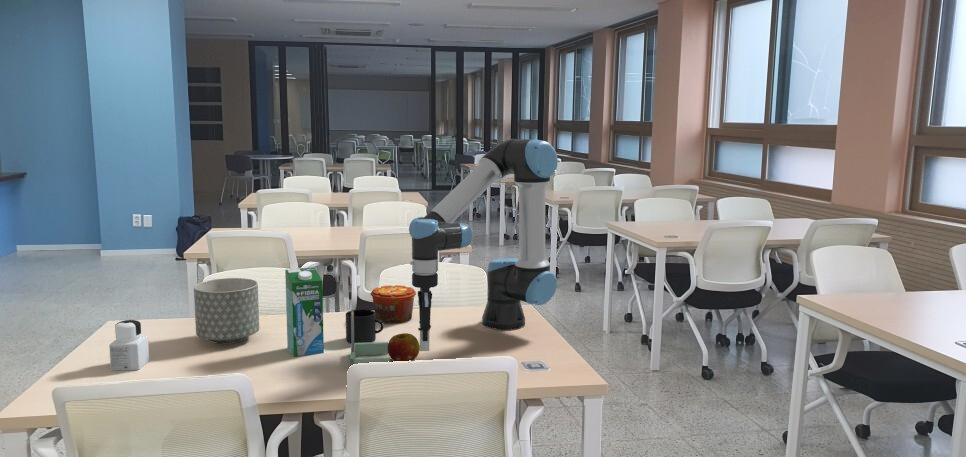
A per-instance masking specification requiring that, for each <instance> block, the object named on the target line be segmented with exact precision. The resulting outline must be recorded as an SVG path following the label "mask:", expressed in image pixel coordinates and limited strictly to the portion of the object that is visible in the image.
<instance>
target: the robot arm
mask: <svg viewBox="0 0 966 457" xmlns="http://www.w3.org/2000/svg"><path fill="white" fill-rule="evenodd" d="M558 162H559V161H558V154H557V152H556V150H555V147H553V146H552V144H550V142H548V141H545V140H541V139H530V138H529V139H526V138H523V139H521V138H509V139H506V140H503V141H502V142H500V143H497V145H495V146H494V147H493V148H490V150H489V151H487V152H486V153H485V154H484V155H483V156H482V157H481V158H480V159H479V160H478V165H477V166H476V167H475V168H474V169H473V170H472V171H471V172H470V173H469V174H468V175H467V176H465V178H463V179H462V180H461V181H460V182H459V183H458V184H457V185H456V186H455V187H454V188H453V189H452V190H450V192H449V193H448V194H447V195H445V196H444V198H443V199H441V201H439V203H438V204H436V206H434V207H433V208H432V209H431V210H430V211H429V212H428V213H427V214H426V215H424V216H420V217H415V218H414V219H412V220H411V222H410V223H409V226H408V233H409V235H410V237H411V258H412V259H411V261H410V262H409V264H410V265H411V268H412V269H411V271H412V272H413V273H412V274H411V286H412V287H414V288H418V289H419V290H418V291H417V297H418V298H417V299H418V301H417V302H418V307H419V308H418V309H419V310H418V311H419V312H418V313H419V321H418V323H419V327H417V328H418V331H419V345H420V351H419V352H430V330H431V328H432V325H431V309H432V308H431V307H432V299H433V292H432V291H431V290H430V289H431V288H435V287H437V286H438V284H439V282H438V279H439V278H438V277H439V276H438V273H437V272H438V271H439V252H440V251H447V250H457V249H459V250H460V249H462V248H467V247H469V245H471V243H472V241H473V231H472V229H471V227H470V225H469V224H468V223H466V222H455V221H456V220H457V219H458V218H459V217H460V216H461V215H462V214H463V213H464V212H465V211H466V210H467V209H468V208H469V207H470V206H471V205H472V204H473V203H475V201H476V200H477V199H479V198H480V196H482V194H484V193H485V192H486V190H487V189H489V188H490V186H492V185H493V183H495V182H499V181H501V180H502V179H503V178H504V177H506V176H509V175H514V176H513V179H514V180H513V182H514V183H515V185H516V186H518V235H519V236H518V247H519V248H518V251H519V252H518V254H519V256H518V258H515V257H514V258H513V257H511V258H498V259H492V260H491V261H489V263H488V264H487V265H488V266H487V299H486V300H487V303H486V305H485V308H484V311H483V313H482V317H481V325H482V326H484V327H487V328H488V329H492V330H500V331H501V330H504V331H505V330H517V329H521V328H523V327H524V326H525V325H526V315H525V313H524V310H523V307H522V302H525V303H527V304H529V305H535V306H543V305H545V304H546V305H547V303H549V302H550V301H551V299H552V298H553V297H554V296H555V293H556V291H557V287H558V279H557V276H556V275H555V274H554V273H553V272H552V271H550V270H551V269H550V268H551V264H550V262H549V261H548V260H547V258H546V186H548V184H549V183H550V182H551V177H552V176H553V175H554V174H555V173H556V170H557V168H558ZM454 222H455V223H454Z"/></svg>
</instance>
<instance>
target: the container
mask: <svg viewBox="0 0 966 457" xmlns="http://www.w3.org/2000/svg"><path fill="white" fill-rule="evenodd" d="M114 332H115V339H114V341H112V342H111V343H110V344H109V360H110V369H111V371H139V370H141V368H143V367H144V366H145V365H146V364H147V363H149V361H150V354H149V353H150V350H149V337H148V336H147V335H142V325H141V321H139V320H135V319H125V320H122V321H119V322H117V323H116V324H115V325H114Z"/></svg>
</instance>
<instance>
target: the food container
mask: <svg viewBox="0 0 966 457" xmlns="http://www.w3.org/2000/svg"><path fill="white" fill-rule="evenodd" d="M416 295H417V292H416V290H415V289H414V288H413V287H411V286H409V287H407V286H406V285H399V284H397V285H396V284H395V285H390V284H389V285H383V286H380V287H375V288H373V289H372V291H371V292H370V296H371V297H372V304H373V311H374V312H375V315H376V319H378V320H380V321H382V323H383V324H386V325H387V324H388V325H398V324H404V323H408V322H409V321H411V320H412V318H413V311H414V301H415V297H416Z"/></svg>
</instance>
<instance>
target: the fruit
mask: <svg viewBox="0 0 966 457" xmlns="http://www.w3.org/2000/svg"><path fill="white" fill-rule="evenodd" d="M420 352H421V351H420V341H419V340H418V338H417V337H416V336H415V335H414V334H411V333H408V332H402V333H398V334H394V335H393V336H392V337H391V338H390V339H389V341H388V354H387V355H388V356H389V357H390V360H392V361H393V362H395V361H409V360H413V361H414V360H415V359H416V358H417V357H418V356H419V354H420Z"/></svg>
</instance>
